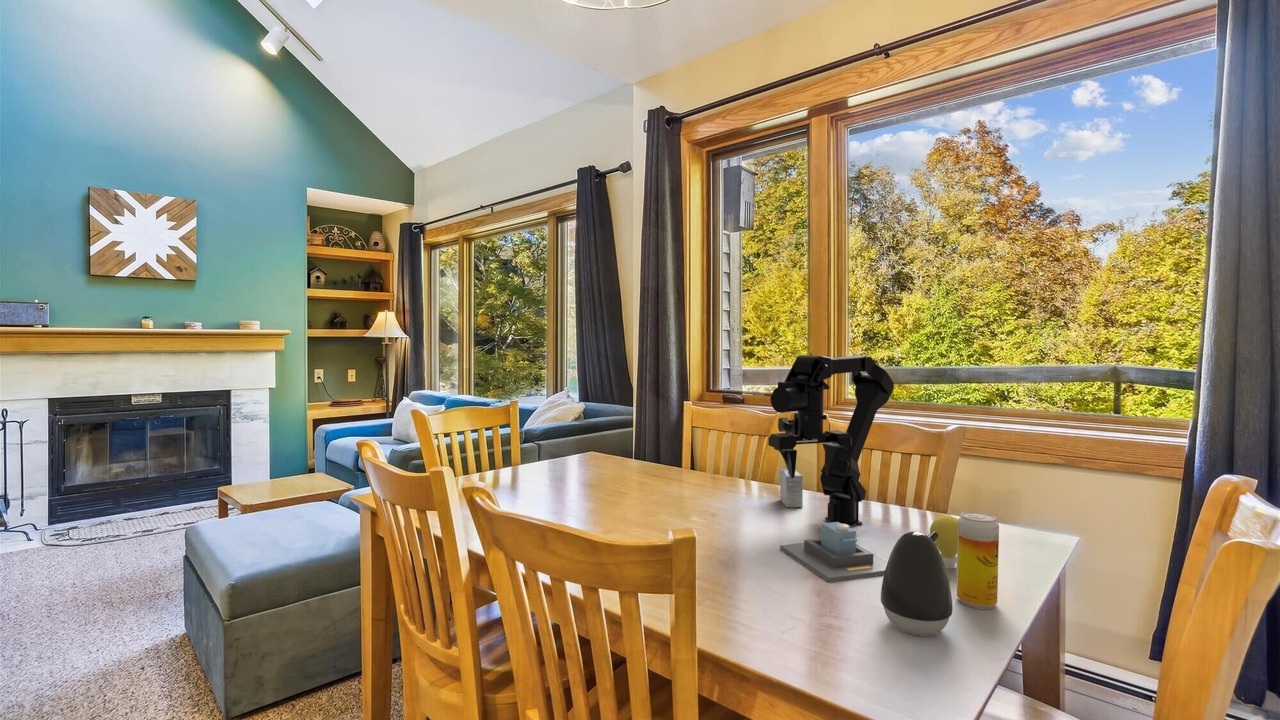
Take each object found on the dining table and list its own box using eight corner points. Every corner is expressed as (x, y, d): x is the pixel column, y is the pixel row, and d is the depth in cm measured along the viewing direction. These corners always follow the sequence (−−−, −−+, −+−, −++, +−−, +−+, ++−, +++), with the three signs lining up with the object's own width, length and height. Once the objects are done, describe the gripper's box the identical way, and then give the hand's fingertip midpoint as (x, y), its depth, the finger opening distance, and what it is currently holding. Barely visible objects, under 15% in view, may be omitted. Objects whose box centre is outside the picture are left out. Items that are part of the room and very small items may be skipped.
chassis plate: (844, 541, 133) (845, 529, 133) (901, 572, 116) (901, 558, 116) (780, 548, 129) (780, 536, 129) (828, 582, 111) (828, 567, 111)
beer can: (996, 614, 99) (998, 523, 98) (955, 605, 102) (956, 517, 101) (997, 600, 104) (999, 514, 103) (957, 592, 107) (959, 509, 106)
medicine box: (802, 508, 159) (803, 475, 159) (785, 508, 159) (786, 475, 159) (795, 500, 167) (796, 469, 167) (779, 500, 167) (779, 469, 167)
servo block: (834, 548, 127) (834, 516, 127) (859, 562, 119) (859, 528, 118) (817, 550, 126) (818, 518, 125) (841, 564, 118) (842, 530, 117)
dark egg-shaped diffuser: (966, 632, 93) (968, 535, 92) (927, 651, 87) (929, 548, 86) (905, 607, 101) (907, 518, 100) (866, 623, 95) (867, 529, 95)
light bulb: (965, 563, 121) (967, 513, 120) (968, 575, 114) (969, 523, 114) (928, 557, 123) (929, 509, 123) (929, 569, 117) (930, 519, 117)
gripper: (825, 404, 149) (825, 466, 149) (757, 407, 144) (757, 471, 144) (853, 409, 138) (852, 477, 139) (780, 412, 133) (780, 482, 134)
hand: (809, 476), depth 139 cm, fingers open, 9 cm apart
